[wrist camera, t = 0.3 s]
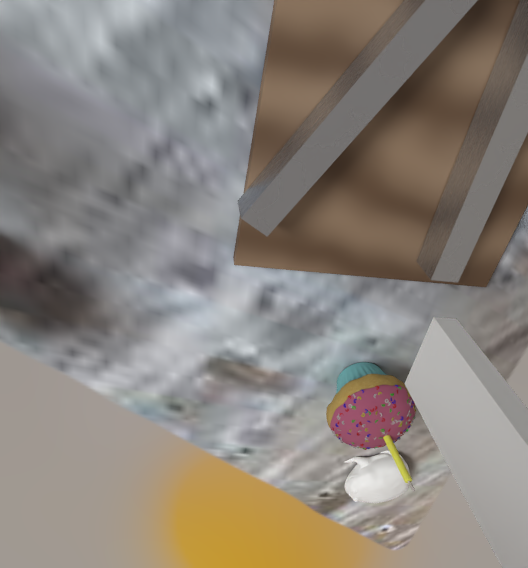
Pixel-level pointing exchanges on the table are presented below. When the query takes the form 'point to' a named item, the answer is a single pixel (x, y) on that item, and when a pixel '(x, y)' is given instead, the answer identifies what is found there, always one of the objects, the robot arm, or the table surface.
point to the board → (377, 144)
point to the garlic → (375, 479)
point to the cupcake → (371, 410)
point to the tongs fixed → (482, 159)
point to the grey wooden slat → (349, 107)
